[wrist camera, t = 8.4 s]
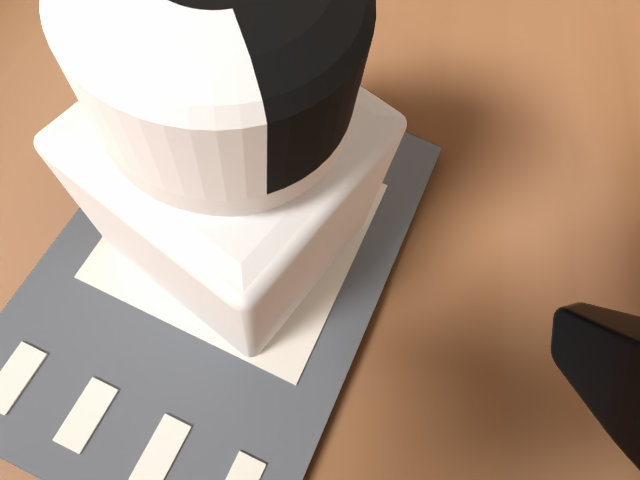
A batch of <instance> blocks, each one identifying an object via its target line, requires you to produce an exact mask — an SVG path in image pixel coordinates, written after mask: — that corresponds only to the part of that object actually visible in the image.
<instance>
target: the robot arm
mask: <svg viewBox="0 0 640 480" xmlns="http://www.w3.org/2000/svg"><path fill="white" fill-rule="evenodd" d="M551 354H552V357H553V360H554V362H555V363H556V365H557V367H558V368H559V369H560V371H561V372H562V373H563V375H564V376H565V377H566V379H567V380H568V381H569V383H570V384H571V385H572V387H573V388H574V389H575V391H576V392H577V393H578V395H579V396H580V397H581V399H582V400H583V401H584V403H585V404H586V405H587V407H588V408H589V409H590V411H591V412H592V413H593V415H594V416H595V417H596V419H597V420H598V421H599V423H600V424H601V425H602V427H603V428H604V429H605V430H606V432H607V433H608V434H609V435H610V437H611V438H612V439H613V441H614V442H615V443H616V444H617V445H618V446H619V448H620V449H621V450H622V451H623V452H624V453H625V455H626V456H627V457H628V458H629V459H630V460H631V461H632V462H633V464H634V465H635V466H636V467H637V468H638V469H639V470H640V317H639V316H635V315H631V314H627V313H623V312H619V311H615V310H611V309H607V308H603V307H599V306H595V305H591V304H586V303H574V304H571V305H567V306H563V307H560V308H558V309H557V310H556V312H555V313H554V317H553V328H552V340H551Z"/></svg>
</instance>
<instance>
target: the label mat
mask: <svg viewBox="0 0 640 480" xmlns="http://www.w3.org/2000/svg"><path fill="white" fill-rule="evenodd" d="M441 149H442V148H441V147H439V146H437V145H435V144H432V143H430V142H428V141H425V140H423V139H421V138H419V137H416V136H414V135H412V134H409V133H407V132H404V135H403V137H402V139H401V141H400V144H399V146H398V148H397V150H396V153H395V155H394V157H393V159H392V162H391V164H390V166H389V168H388V171H387V173H386V175H385V177H384V180H383V182H382V184H381V186H380V189H379V191H378V193H377V195H376V198H375V200H374V202H373V204H372V207H371V209H370V211H369V213H368V216H367V218H366V220H365V222H364V225H363V226H362V228H361V229H360V230H359V231H358V232H357V234H356V235H355V236H354V237H353V239H352V240H351V241H350V242H349V244H348V245H347V246H346V247H345V249H344V250H343V251H342V252H341V253H340V255H339V256H338V257H337V258H336V260H335V261H334V262H333V263H332V265H331V266H330V267H329V268H328V269H327V271H326V272H325V273H324V274H323V276H322V277H321V278H320V279H319V281H318V282H317V283H316V284H315V286H314V287H313V288H312V289H311V290H310V292H309V293H308V294H307V295H306V297H305V298H304V299H303V300H302V302H301V303H300V304H299V305H298V306H297V308H296V309H295V310H294V311H293V313H292V314H291V315H290V316H289V318H288V319H287V320H286V321H285V323H284V324H283V325H282V326H281V327H280V329H279V330H278V331H277V332H276V334H275V335H274V336H273V337H272V339H271V340H270V341H269V342H268V343H267V345H266V346H265V347H264V348H263V350H262V351H261V352H260V353H259V354H258V355H257V356H255V357H250V358H249V357H247V356H244V355H243V354H242V353H240V352H239V351H238V350H237V349H236V348H234V347H233V346H232V345H231V344H229V343H228V342H227V341H226V340H224V339H223V338H222V337H221V336H220V335H218V334H217V333H216V332H215V331H213V330H212V329H211V328H210V327H209V326H207V325H206V324H205V323H204V322H202V321H201V320H200V319H199V318H197V317H196V316H195V315H194V314H193V313H191V312H190V311H189V310H188V309H186V308H185V307H184V306H183V305H181V304H180V303H179V302H178V301H177V300H175V299H174V298H173V297H172V296H170V295H169V294H168V293H167V292H165V291H164V290H163V289H162V288H161V287H159V286H158V285H157V284H156V283H154V282H153V281H152V280H151V279H149V278H148V277H147V276H146V275H145V274H143V273H142V272H141V271H140V270H138V269H137V268H136V267H135V266H134V265H132V264H131V263H130V262H129V261H127V260H126V259H125V258H124V257H122V256H121V255H120V254H119V253H118V252H116V251H115V250H114V249H113V248H111V247H110V245H109V244H108V243H107V241H106V240H105V239H104V238H103V236H102V235H101V234H100V232H99V231H98V230H97V228H96V227H95V226H94V225H93V223H92V222H91V221H90V219H89V218H88V217H87V216H86V214H85V213H84V212H83V210H82V209H81V208H79V209H78V210H77V212H76V213H75V214H74V216H73V217H72V218H71V220H70V221H69V222H68V224H67V225H66V226H65V228H64V229H63V230H62V232H61V233H60V234H59V236H58V237H57V238H56V240H55V241H54V242H53V244H52V245H51V246H50V248H49V249H48V250H47V252H46V253H45V254H44V256H43V257H42V258H41V260H40V261H39V262H38V264H37V265H36V266H35V268H34V269H33V270H32V272H31V273H30V274H29V276H28V277H27V278H26V280H25V281H24V282H23V284H22V285H21V286H20V288H19V289H18V290H17V292H16V293H15V294H14V296H13V297H12V298H11V300H10V301H9V302H8V303H7V305H6V306H5V307H4V309H3V310H2V311H1V313H0V458H2V459H3V460H5V461H7V462H9V463H11V464H13V465H15V466H17V467H19V468H21V469H22V470H24V471H26V472H28V473H30V474H32V475H34V476H36V477H38V478H40V479H42V480H303V477H304V475H305V473H306V470H307V468H308V465H309V463H310V461H311V458H312V456H313V454H314V451H315V449H316V446H317V444H318V442H319V439H320V437H321V435H322V432H323V430H324V427H325V425H326V423H327V420H328V418H329V416H330V413H331V411H332V408H333V406H334V404H335V401H336V399H337V397H338V394H339V392H340V389H341V387H342V385H343V382H344V380H345V378H346V375H347V373H348V370H349V368H350V366H351V363H352V361H353V359H354V356H355V354H356V351H357V349H358V347H359V344H360V342H361V340H362V337H363V335H364V332H365V330H366V328H367V325H368V323H369V320H370V318H371V316H372V313H373V311H374V309H375V306H376V304H377V301H378V299H379V297H380V294H381V292H382V290H383V287H384V285H385V282H386V280H387V278H388V275H389V273H390V271H391V268H392V266H393V263H394V261H395V259H396V256H397V254H398V252H399V249H400V247H401V244H402V242H403V240H404V237H405V235H406V233H407V230H408V228H409V225H410V223H411V221H412V218H413V216H414V214H415V211H416V209H417V206H418V204H419V202H420V199H421V197H422V195H423V192H424V190H425V187H426V185H427V183H428V180H429V178H430V176H431V173H432V171H433V168H434V166H435V164H436V161H437V159H438V157H439V154H440V152H441Z"/></svg>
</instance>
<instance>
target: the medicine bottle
mask: <svg viewBox="0 0 640 480" xmlns="http://www.w3.org/2000/svg"><path fill="white" fill-rule="evenodd" d="M39 12H40V17H41V23H42V28H43V31H44V34H45V36H46V39H47V41H48V44H49V47H50V49H51V50H52V52H53V54H54V56H55V58H56V60H57V62H58V63H59V65H60V67H61V69H62V71H63V73H64V74H65V76H66V78H67V80H68V82H69V84H70V86H71V87H72V89H73V91H74V93H75V95H76V97H77V99H78V100H79V101H78V102H76V103H75V104H74V105H72V106H71V107H70V108H69V109H67V110H66V111H65V112H64V113H62V114H61V115H60V116H58V117H57V118H56V119H55V120H53V121H52V122H51V123H50V124H48V125H47V126H46V127H44V128H43V129H42V130H41V131H39V132H38V133H37V135H36V136H35V137H34V147H35V149H36V151H37V152H38V154H39V155H40V156H41V158H42V159H43V160H44V161H45V163H46V164H47V165H48V167H49V168H50V169H51V170H52V172H53V173H54V174H55V176H56V177H57V178H58V180H59V181H60V182H61V183H62V185H63V186H64V187H65V189H66V190H67V191H68V192H69V194H70V195H71V196H72V198H73V199H74V200H75V201H76V203H77V204H78V205H79V207H80V208H81V209H82V210H83V212H84V213H85V214H86V216H87V217H88V218H89V219H90V221H91V222H92V223H93V225H94V226H95V227H96V228H97V230H98V231H99V232H100V234H101V235H102V236H103V238H104V239H105V240H106V241H107V243H108V244H109V245H110V247H111V248H113V249H114V250H115V251H116V252H118V253H119V254H120V255H121V256H122V257H124V258H125V259H126V260H127V261H129V262H130V263H131V264H132V265H134V266H135V267H136V268H137V269H138V270H140V271H141V272H142V273H143V274H145V275H146V276H147V277H148V278H149V279H151V280H152V281H153V282H154V283H156V284H157V285H158V286H159V287H161V288H162V289H163V290H164V291H165V292H167V293H168V294H169V295H170V296H172V297H173V298H174V299H175V300H177V301H178V302H179V303H180V304H181V305H183V306H184V307H185V308H186V309H188V310H189V311H190V312H191V313H193V314H194V315H195V316H196V317H197V318H199V319H200V320H201V321H202V322H204V323H205V324H206V325H207V326H209V327H210V328H211V329H212V330H213V331H215V332H216V333H217V334H218V335H220V336H221V337H222V338H223V339H224V340H226V341H227V342H228V343H229V344H231V345H232V346H233V347H234V348H236V349H237V350H238V351H239V352H240V353H242V354H243V355H244V356H247V357H249V358H250V357H255V356H257V355H258V354H259V353H260V352H261V351H262V350H263V348H264V347H265V346H266V345H267V343H268V342H269V341H270V340H271V339H272V337H273V336H274V335H275V334H276V332H277V331H278V330H279V329H280V327H281V326H282V325H283V324H284V323H285V321H286V320H287V319H288V318H289V316H290V315H291V314H292V313H293V311H294V310H295V309H296V308H297V306H298V305H299V304H300V303H301V302H302V300H303V299H304V298H305V297H306V295H307V294H308V293H309V292H310V290H311V289H312V288H313V287H314V286H315V284H316V283H317V282H318V281H319V279H320V278H321V277H322V276H323V274H324V273H325V272H326V271H327V269H328V268H329V267H330V266H331V265H332V263H333V262H334V261H335V260H336V258H337V257H338V256H339V255H340V253H341V252H342V251H343V250H344V249H345V247H346V246H347V245H348V244H349V242H350V241H351V240H352V239H353V237H354V236H355V235H356V234H357V232H358V231H359V230H360V229H361V228H362V226H363V225H364V222H365V220H366V218H367V216H368V213H369V211H370V209H371V207H372V204H373V202H374V200H375V198H376V195H377V193H378V191H379V189H380V186H381V184H382V182H383V180H384V177H385V175H386V173H387V171H388V168H389V166H390V164H391V162H392V159H393V157H394V155H395V153H396V150H397V148H398V146H399V144H400V141H401V139H402V137H403V135H404V132H405V130H406V128H407V122H406V118H405V117H404V116H403V114H402V113H400V112H399V111H397V110H396V109H394V108H393V107H391V106H390V105H388V104H387V103H385V102H384V101H382V100H381V99H379V98H378V97H376V96H375V95H373V94H372V93H370V92H369V91H367V90H366V89H364V88H363V87H361V86H360V83H361V80H362V76H363V72H364V68H365V64H366V61H367V57H368V53H369V49H370V45H371V42H372V38H373V34H374V28H375V21H376V0H40V3H39Z"/></svg>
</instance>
